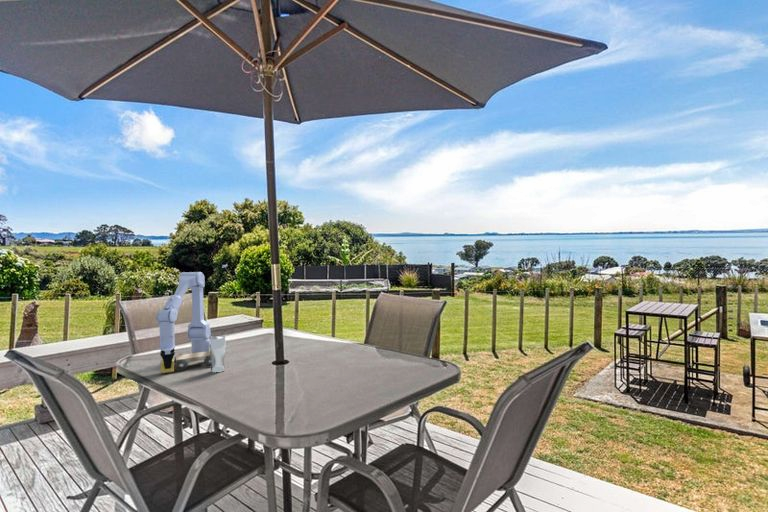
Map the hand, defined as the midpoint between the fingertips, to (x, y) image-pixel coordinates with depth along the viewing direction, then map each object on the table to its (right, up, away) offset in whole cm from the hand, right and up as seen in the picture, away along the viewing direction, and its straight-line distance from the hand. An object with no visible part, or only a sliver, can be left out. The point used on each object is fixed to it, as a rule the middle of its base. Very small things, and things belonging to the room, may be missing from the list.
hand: (167, 367), depth 172 cm
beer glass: (+22, -2, +1) cm, 22 cm away
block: (0, -2, 0) cm, 2 cm away
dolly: (+7, -2, +10) cm, 13 cm away
